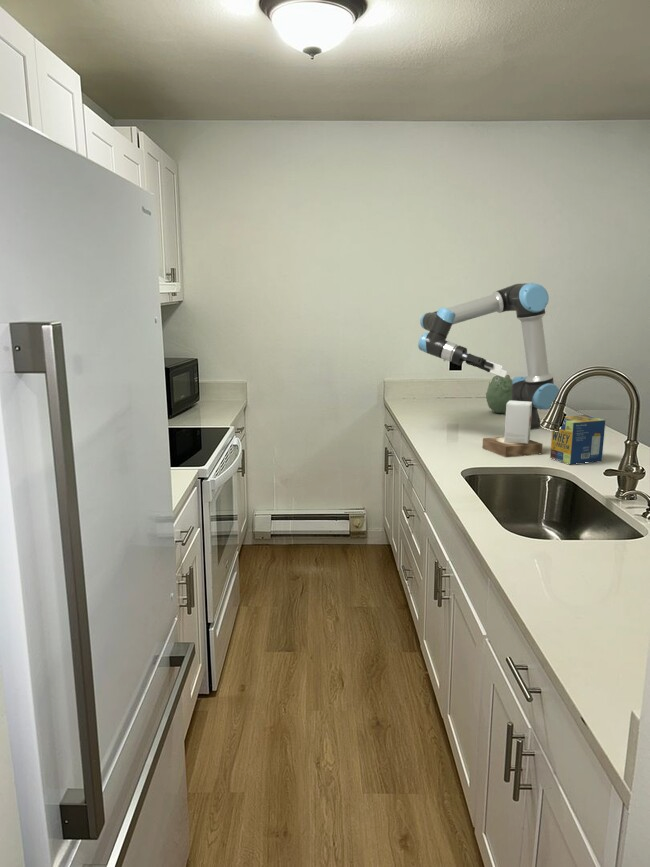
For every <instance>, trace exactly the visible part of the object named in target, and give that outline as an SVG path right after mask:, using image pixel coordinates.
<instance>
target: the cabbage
mask: <svg viewBox="0 0 650 867" xmlns="http://www.w3.org/2000/svg"><path fill="white" fill-rule="evenodd" d="M512 382H513V378H511V376H510V375H509V374H506V376H505V378H504V377H501V376H499V375H495V376H493V377H491V381H489V382H488V387H487V390H486V393H485V398H486V402H487V406H488V407H489V409H491V411H493V412H494V413H496V414H506V404H507V403H508V402H509V401H511V398H512Z"/></svg>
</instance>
